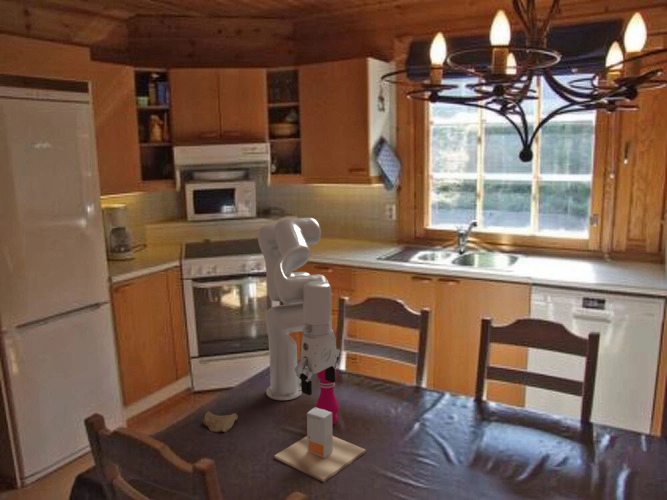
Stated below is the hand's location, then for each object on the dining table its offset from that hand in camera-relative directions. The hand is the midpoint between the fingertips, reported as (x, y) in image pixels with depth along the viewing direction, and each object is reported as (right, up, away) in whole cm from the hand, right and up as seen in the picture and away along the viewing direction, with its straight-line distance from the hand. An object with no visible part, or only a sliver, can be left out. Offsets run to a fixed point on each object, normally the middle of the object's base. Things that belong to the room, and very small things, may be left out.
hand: (318, 387), depth 149 cm
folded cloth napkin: (0, -20, +3) cm, 20 cm away
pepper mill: (+2, -16, +22) cm, 28 cm away
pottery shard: (-32, -17, +22) cm, 42 cm away
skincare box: (0, -19, +3) cm, 19 cm away
